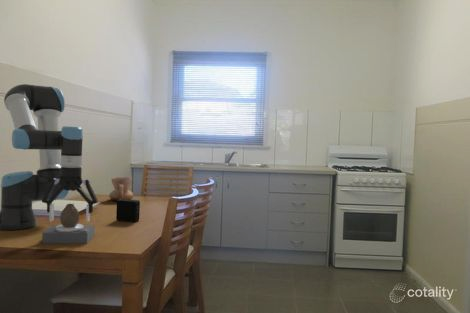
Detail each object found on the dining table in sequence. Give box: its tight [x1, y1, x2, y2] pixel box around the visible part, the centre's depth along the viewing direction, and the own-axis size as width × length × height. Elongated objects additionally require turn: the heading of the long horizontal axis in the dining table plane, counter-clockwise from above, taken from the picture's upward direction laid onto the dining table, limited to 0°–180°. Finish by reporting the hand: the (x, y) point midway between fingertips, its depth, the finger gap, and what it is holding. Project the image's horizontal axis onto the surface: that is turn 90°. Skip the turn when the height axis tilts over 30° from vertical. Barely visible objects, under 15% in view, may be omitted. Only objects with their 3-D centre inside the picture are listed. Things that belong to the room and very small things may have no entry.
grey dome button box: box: [41, 223, 95, 245], centre depth 148 cm, size 16×12×5 cm
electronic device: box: [115, 199, 141, 223], centre depth 184 cm, size 4×10×10 cm, turn 78°
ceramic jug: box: [108, 176, 134, 202], centre depth 237 cm, size 18×14×14 cm
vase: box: [59, 203, 80, 228], centre depth 148 cm, size 7×7×9 cm
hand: (69, 221), depth 148 cm, fingers open, 13 cm apart
